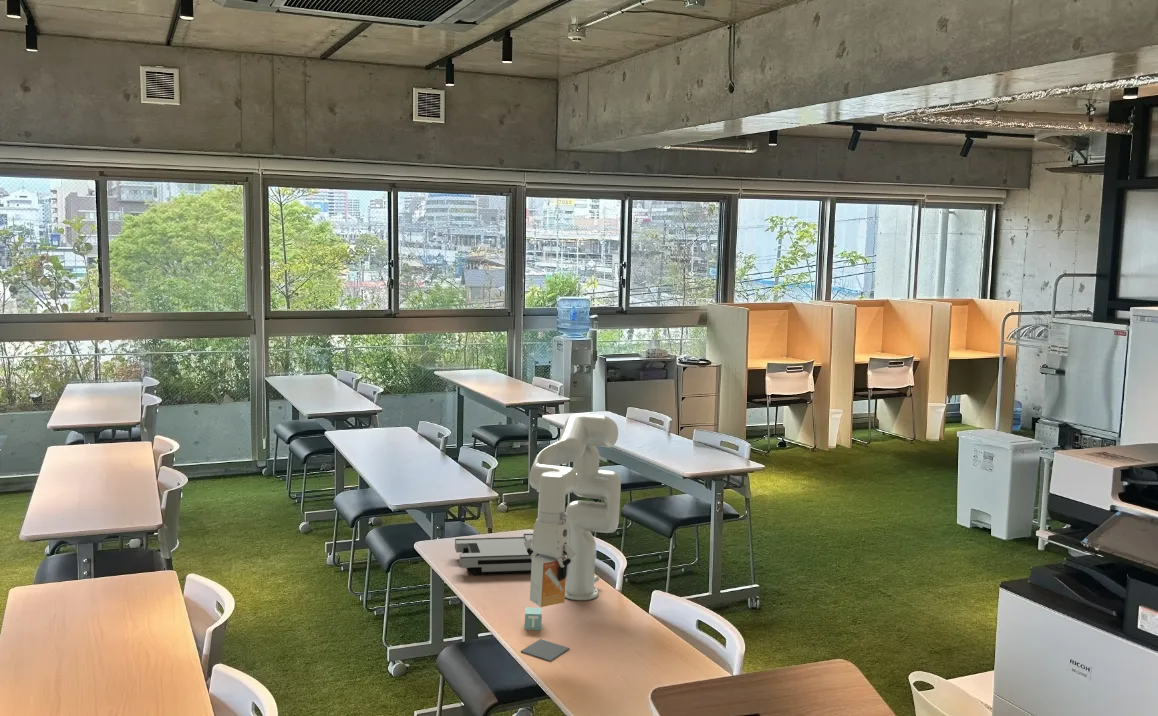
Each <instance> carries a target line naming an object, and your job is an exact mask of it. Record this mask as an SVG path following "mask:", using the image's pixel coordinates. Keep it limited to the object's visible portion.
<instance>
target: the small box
mask: <svg viewBox="0 0 1158 716" xmlns="http://www.w3.org/2000/svg"><path fill="white" fill-rule="evenodd" d="M558 567H560V564H559V562H558V560H557V559H556V558H552V557H548V556H544V555H539V556H534V557H532V564H531V574H530V586H529V587H530V588H529V589H530V590H529V601H530V602H532V603H533V604H535V605H537V606H538V607H539V608H543V607H548V606H552V605H558V604H564V603H565V599H566V598H565V582H566V578H565V579H563V580H561V581H558Z"/></svg>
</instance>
